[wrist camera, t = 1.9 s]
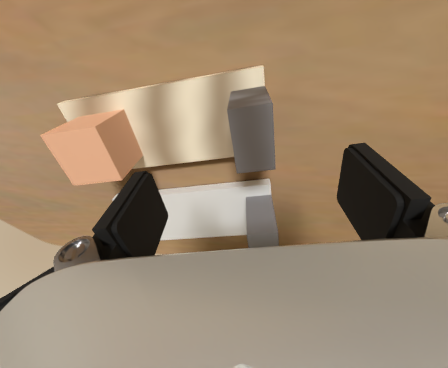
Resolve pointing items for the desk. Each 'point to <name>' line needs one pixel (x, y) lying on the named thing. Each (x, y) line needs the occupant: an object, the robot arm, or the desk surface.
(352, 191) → the robot arm
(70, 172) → the cube
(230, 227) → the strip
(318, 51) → the desk surface
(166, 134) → the cube strip
